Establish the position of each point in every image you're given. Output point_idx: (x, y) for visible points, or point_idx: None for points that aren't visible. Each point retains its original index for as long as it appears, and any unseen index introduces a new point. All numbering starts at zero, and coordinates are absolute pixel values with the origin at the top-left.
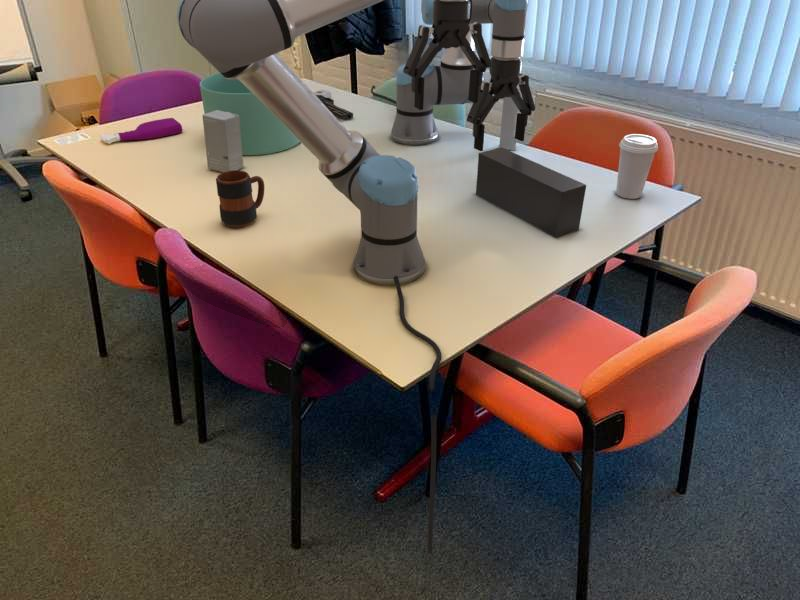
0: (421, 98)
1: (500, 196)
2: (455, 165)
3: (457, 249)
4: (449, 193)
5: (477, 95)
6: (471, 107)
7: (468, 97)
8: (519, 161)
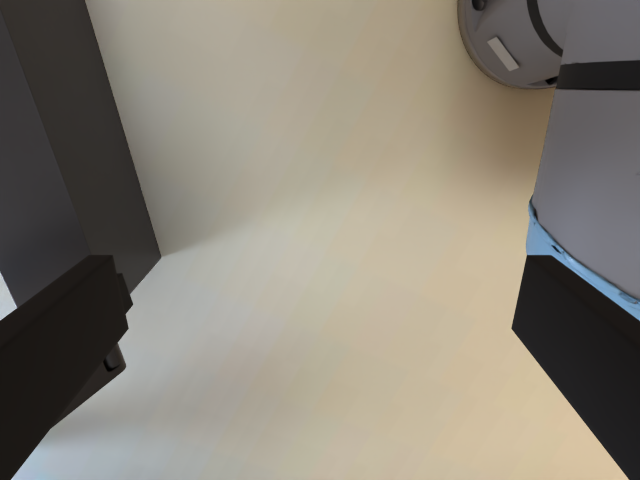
0: (594, 292)
1: (122, 178)
2: (140, 401)
3: (345, 8)
4: (218, 286)
5: (62, 278)
6: (77, 406)
7: (120, 337)
8: (7, 203)
